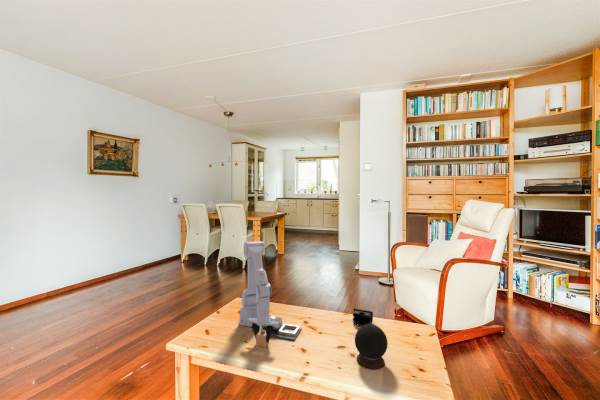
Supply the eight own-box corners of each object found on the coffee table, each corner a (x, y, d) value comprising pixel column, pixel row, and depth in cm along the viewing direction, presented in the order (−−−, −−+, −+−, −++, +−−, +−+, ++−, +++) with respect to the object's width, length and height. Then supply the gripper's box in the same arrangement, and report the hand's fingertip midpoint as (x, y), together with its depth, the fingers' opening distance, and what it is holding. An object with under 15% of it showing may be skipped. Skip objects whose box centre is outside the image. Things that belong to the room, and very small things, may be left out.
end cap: (373, 322, 157) (373, 309, 157) (370, 327, 150) (371, 314, 150) (354, 318, 161) (354, 306, 160) (351, 323, 154) (352, 311, 154)
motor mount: (255, 334, 141) (255, 320, 141) (265, 323, 152) (265, 310, 152) (294, 340, 135) (294, 326, 135) (301, 329, 146) (301, 315, 146)
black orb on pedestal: (386, 355, 124) (387, 321, 123) (387, 374, 111) (388, 335, 111) (355, 350, 127) (356, 317, 127) (352, 367, 115) (353, 330, 114)
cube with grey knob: (256, 345, 130) (256, 332, 130) (260, 340, 135) (260, 327, 135) (265, 346, 129) (265, 333, 129) (269, 342, 133) (269, 329, 133)
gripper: (244, 312, 130) (244, 342, 130) (274, 316, 126) (274, 347, 126) (251, 306, 137) (251, 335, 137) (280, 310, 132) (279, 339, 133)
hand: (262, 340), depth 132 cm, fingers closed on cube with grey knob, 4 cm apart
